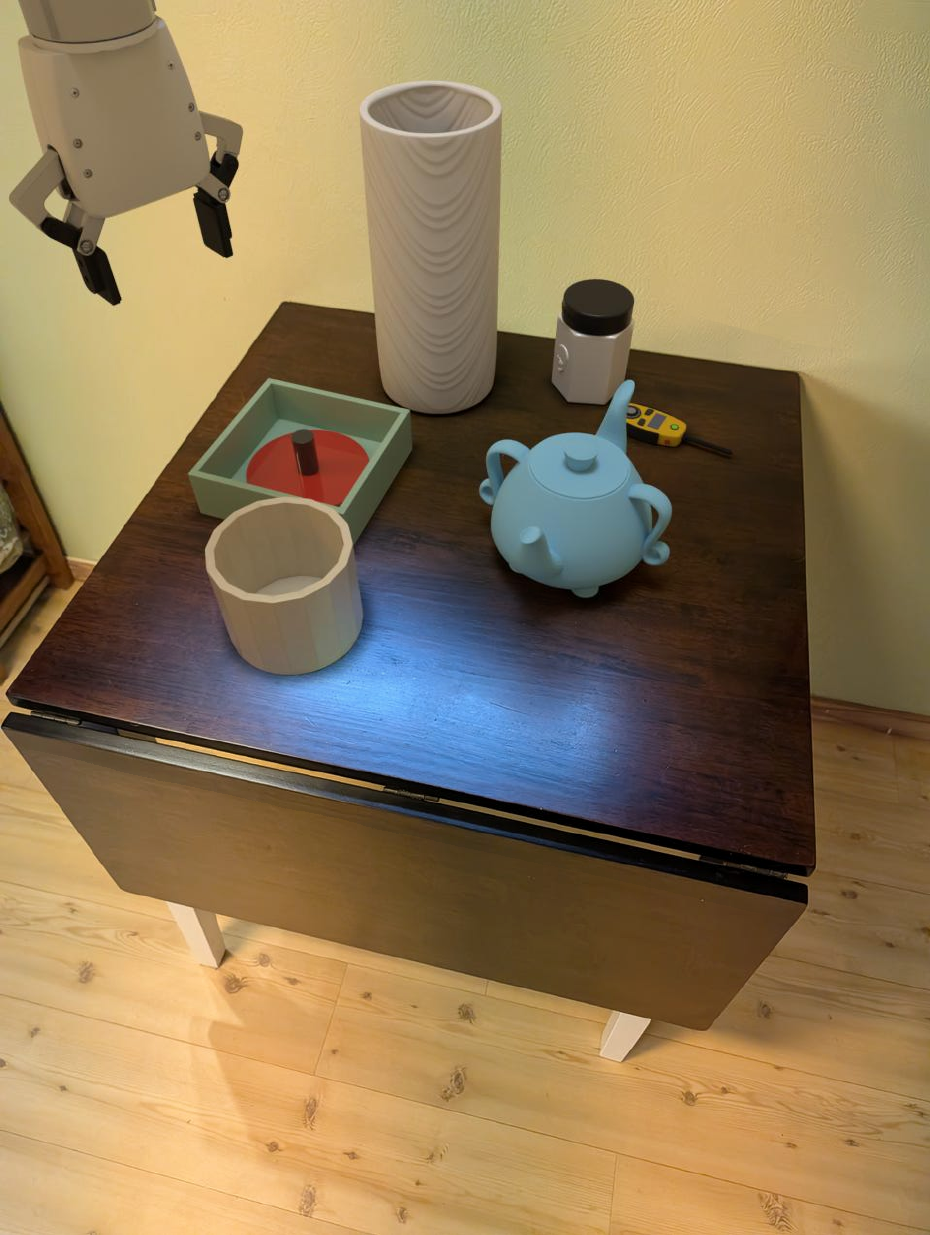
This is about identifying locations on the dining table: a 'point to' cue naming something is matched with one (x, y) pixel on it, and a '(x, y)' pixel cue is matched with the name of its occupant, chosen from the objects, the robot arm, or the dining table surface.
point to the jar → (593, 341)
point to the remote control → (660, 428)
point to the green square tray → (286, 412)
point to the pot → (286, 584)
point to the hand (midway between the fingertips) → (165, 273)
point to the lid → (309, 465)
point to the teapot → (576, 506)
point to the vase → (434, 239)
